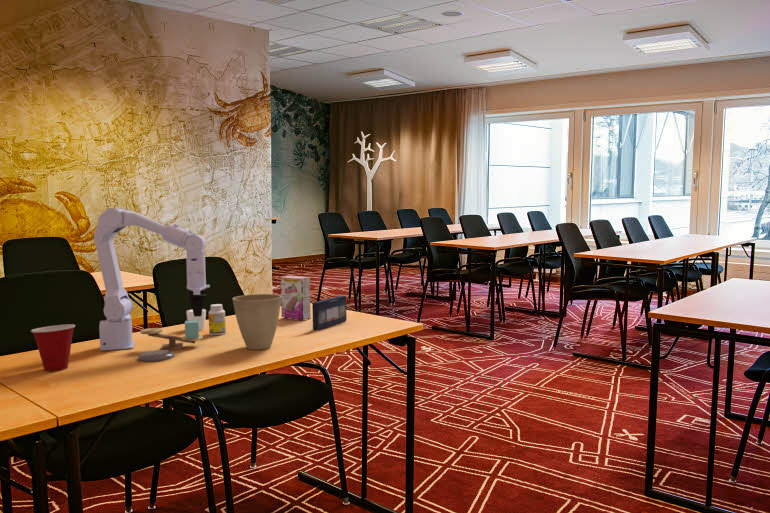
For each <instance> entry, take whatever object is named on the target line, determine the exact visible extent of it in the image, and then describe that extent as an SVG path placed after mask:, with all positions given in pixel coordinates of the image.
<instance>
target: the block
mask: <svg viewBox="0 0 770 513" xmlns="http://www.w3.org/2000/svg"><path fill="white" fill-rule="evenodd" d="M199 335H200V333H199V327H198V320H191V321H188V320H185V321H184V336H185V339H191V338H199Z"/></svg>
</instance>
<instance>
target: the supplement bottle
mask: <svg viewBox="0 0 770 513" xmlns="http://www.w3.org/2000/svg"><path fill="white" fill-rule="evenodd" d="M208 329H209V330H208V332H209V335H210V336H222V335H225V334H226V332H227V327H226V311H225V310H224V308H223V304H221V303H216V304H215V303H214V304H210V310H209V311H208Z"/></svg>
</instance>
